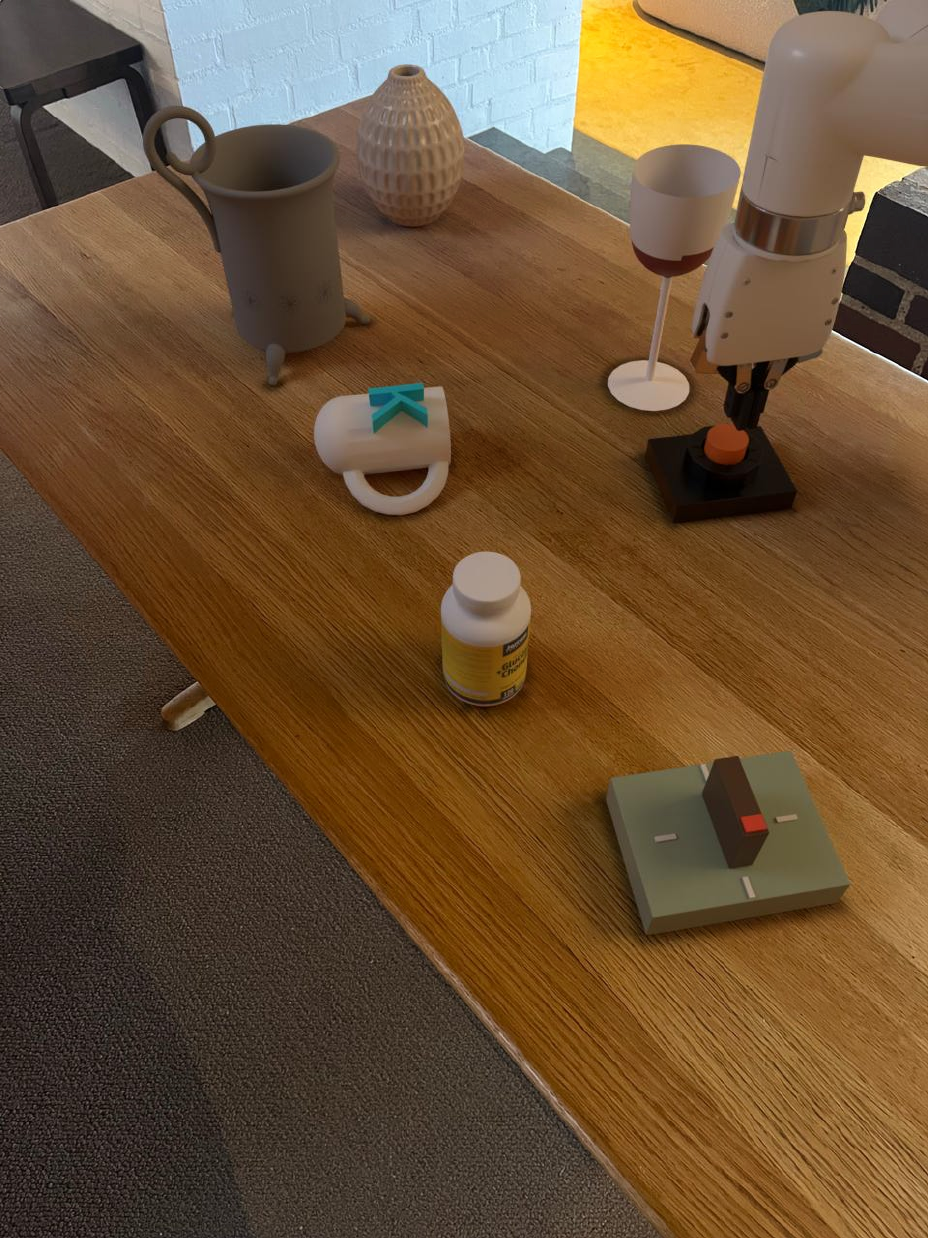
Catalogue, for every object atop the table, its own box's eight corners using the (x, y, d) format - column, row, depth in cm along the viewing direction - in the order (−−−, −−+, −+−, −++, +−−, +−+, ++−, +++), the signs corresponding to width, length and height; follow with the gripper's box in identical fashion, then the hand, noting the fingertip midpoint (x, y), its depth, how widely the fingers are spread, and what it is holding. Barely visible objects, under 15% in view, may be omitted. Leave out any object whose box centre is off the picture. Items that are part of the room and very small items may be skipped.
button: (736, 437, 87) (740, 421, 85) (750, 463, 85) (755, 448, 83) (698, 441, 86) (701, 426, 85) (711, 468, 84) (715, 452, 83)
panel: (780, 771, 69) (791, 748, 67) (837, 903, 63) (852, 883, 60) (605, 799, 68) (610, 776, 65) (645, 936, 61) (653, 917, 59)
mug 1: (350, 287, 109) (324, 46, 90) (391, 360, 100) (371, 111, 81) (185, 322, 105) (121, 77, 85) (213, 401, 96) (147, 149, 77)
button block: (755, 443, 92) (765, 410, 89) (791, 508, 86) (803, 475, 83) (644, 456, 91) (650, 423, 87) (673, 523, 85) (681, 490, 82)
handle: (701, 793, 65) (715, 757, 61) (723, 790, 65) (739, 753, 61) (728, 869, 61) (745, 835, 57) (752, 865, 61) (770, 831, 58)
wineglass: (587, 393, 97) (613, 178, 80) (632, 347, 102) (666, 134, 84) (665, 425, 93) (709, 208, 76) (708, 376, 98) (758, 161, 81)
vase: (341, 213, 119) (325, 69, 107) (418, 179, 125) (412, 38, 112) (408, 253, 113) (400, 105, 101) (486, 215, 119) (488, 71, 106)
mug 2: (304, 372, 82) (442, 359, 84) (313, 422, 91) (438, 409, 92) (318, 498, 79) (461, 482, 81) (326, 537, 88) (455, 522, 89)
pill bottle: (487, 725, 72) (490, 628, 63) (425, 678, 74) (419, 578, 65) (543, 673, 75) (553, 573, 66) (481, 629, 77) (483, 528, 68)
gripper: (866, 179, 71) (806, 382, 86) (672, 202, 70) (644, 404, 84) (913, 230, 67) (841, 436, 81) (706, 255, 65) (670, 460, 80)
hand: (740, 419), depth 83 cm, fingers closed
